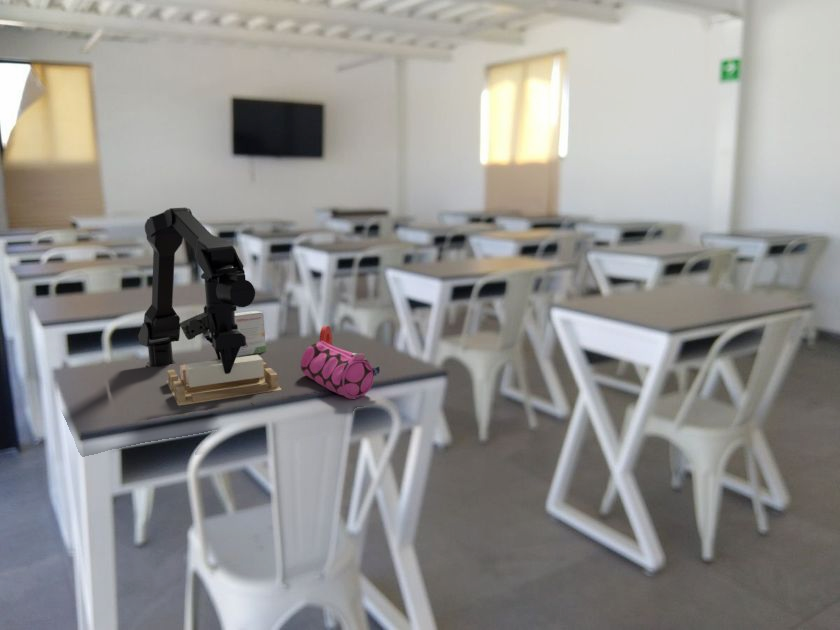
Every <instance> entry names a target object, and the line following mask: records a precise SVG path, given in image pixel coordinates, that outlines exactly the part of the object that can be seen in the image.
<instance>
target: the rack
mask: <svg viewBox="0 0 840 630" xmlns="http://www.w3.org/2000/svg"><path fill="white" fill-rule="evenodd" d="M263 367H264V377H259V378H252V379H245V380H238V381H231V382H224V383H217V384H210V385H203V386H196V387H189V386H188V384H187V382H184V384H185V387H184V386H183V384H182V382H181V373H179V375H178V374H177V372H176V371H175V369H169V370H167V380H165V381H166V384H167V385H168V387H169V390H170V392H171V393H172V396H173V398H174V399H175V400H174V401H176V404H177V405H178V407H179V406H185V405H193V404H198V403H205V402H210V401H218V400H225V399H230V398H236V397H244V396H249V395H255V394H261V393H269V392H270V393H271V392H275V391H282V390H283V389H282V388H281V387H280V386H279V376H278V375H279V374H278V373H277V372H276V371H275V370H274V369H273V368H272V367H268V366H267V363H266V362H265V361H264V360H263Z"/></svg>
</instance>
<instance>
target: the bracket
mask: <svg viewBox="0 0 840 630" xmlns="http://www.w3.org/2000/svg"><path fill="white" fill-rule="evenodd" d="M332 333H333V332H332V329H331V327H330V326H328V325H322V326H321V328H320V333H319V341H324V342H326V343H327V344H330V345H332V346H333V334H332Z"/></svg>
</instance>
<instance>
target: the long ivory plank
mask: <svg viewBox="0 0 840 630" xmlns="http://www.w3.org/2000/svg"><path fill="white" fill-rule="evenodd" d="M263 361H264V359H263V358H262V357H261V356H260V355H259V354H251V355H244V356H237V357H236V359H235V362H234V364H233V367H232V369H231V372H230V373H229V374H225V372H224V369H223V365H222V361H221V360H218V359H215V360H208V361H206V360H205V361H200V362H199V361H198V362H193V363H185V364H184V365H185V372H186V382H187V384H188V386H189V387H196V386H203V385H210V384H217V383H224V382H231V381H238V380H245V379H252V378H259V377H264V367H263Z"/></svg>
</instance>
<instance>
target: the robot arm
mask: <svg viewBox="0 0 840 630" xmlns="http://www.w3.org/2000/svg"><path fill="white" fill-rule="evenodd" d="M144 232H145V235H146V240H147V242H148V243H149V245H150V246H151V248H152V250H153V255H152V256H153V257H152V260H153V262H152V284H151V285H152V290H151V304H150V306H149V307H148V309H147V310H146V311H145V313H144V316H143V322H142V324H141V327H140V330H139V333H138V336H137V337H138V341H139V342H138V343H139V345H142V346H144V347H146V348H147V353H148V359H149V361H148V362H146V364H147V365H146V366H147V367H148V368H151V367H158V368H159V367H163V366H165V367H166V366H169V365H174V364H177V363H176V361H175V360H174V356H173V347H172V343H173V342H179V341H180V335H181V330H182V332H183V334H184V336H185V338H186V339H187V340H193V339H195V338H196V337H197V336H200V335H202V334H203V335H205V336H204V339H205V340H206V341H207V342H209V343H210V344H211V347H212V348H213V349H214V352H215V355H216V357H217V359H216V360H221V361H222V365H223V369H224V372H225V374H229V373H230V372H231V369H232V367H233V364H234V362H235V359H236V358H237V357H238V356H237V354H238V352H239V350H240V347H242V346H246V337H245V336H244V335H243V334H242V333H241V332H239V331H238V330H236V329H238V327H237V324H236V323H235V313H236V312H237V308H245V307H249V305H251V304H252V303H253V301H254V300H255V297H256V288H255V287H254V285H253V284H252V282H250V280H247V279H246V274H245V272H246V271H245V269H244V267H245V265H244V264H243V262H242V261H241V258H240V257H239V255H238V253H237V251H236V249H235V247H234V245H233V244H232V243H231V242H230V241H228V240H226V239H225V238H222V237H219V236H215V235H214V234H212V233H211V232H209V230H208V229H207V228H206V227H205V226H204V225H203V224H202V223H201V222H200V221H199V220H198V219H197V218H196V217H195V216H194V215H193V212H192V210H191V209H190V208H187V207H171V208H169V209H168V208H167V209H166V210H164V211H163V212H161V213H159V214H155V215H152V216H150V217H149V218H147V220H146V222H145V223H144ZM183 240H185V241H186V242H187V243H188V244H189V245H190V247H191V248H192V249H193V250H194V251H195V255H194V256H195V257H194V259H195V262H196V263H197V265H198V267H199V268H200V270H201V271H202V273H201V276H200V278H201V279H202V280H204V292H205V300H206V301H205V302H206V303H205V305H204V306H203V312H202V313H199V314H196V315H194V316H191V317H190V318H188V319H186V320H183V321H181V318H180V315H178V314H177V312H176V311H175V309H174V307H173V304H174V303H173V302H174V301H173V299H174V298H173V297H174V279H175V260H176V259H175V257H176V255H175V254H176V252H177V251H178V250H179V248H180V247H181V245H182V244H183ZM180 321H181V322H180ZM207 333H208V335H206V334H207Z"/></svg>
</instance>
